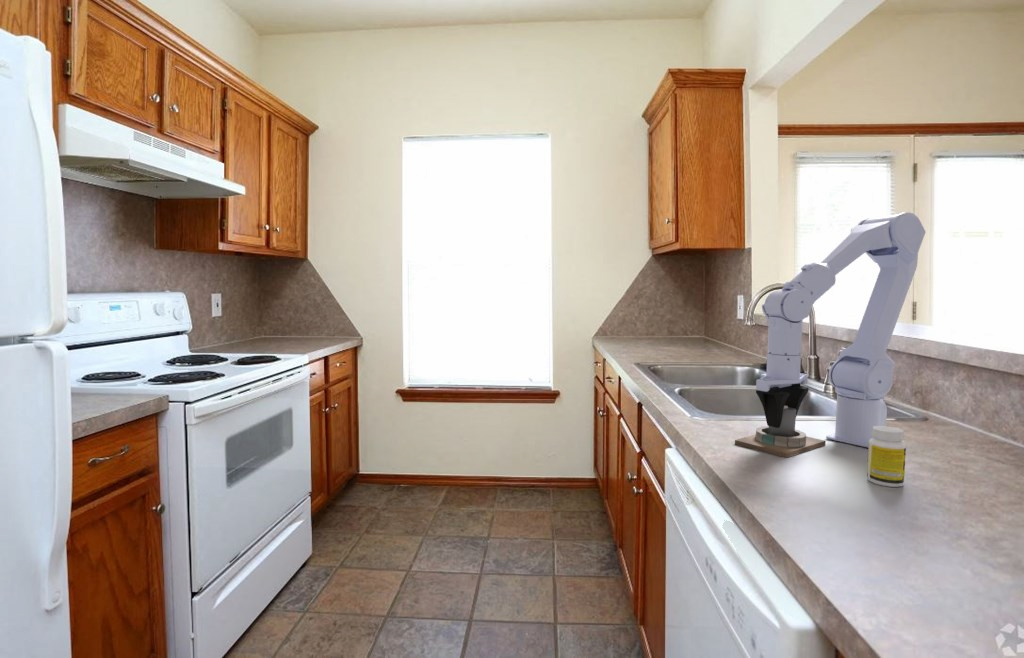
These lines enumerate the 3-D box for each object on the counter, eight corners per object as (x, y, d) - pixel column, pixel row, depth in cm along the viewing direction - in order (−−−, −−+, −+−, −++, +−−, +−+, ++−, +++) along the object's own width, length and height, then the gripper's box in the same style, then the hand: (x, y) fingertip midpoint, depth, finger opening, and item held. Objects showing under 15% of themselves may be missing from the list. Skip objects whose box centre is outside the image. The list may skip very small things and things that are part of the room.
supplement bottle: (910, 489, 81) (913, 433, 80) (875, 486, 82) (878, 431, 81) (894, 477, 85) (897, 425, 85) (861, 475, 86) (864, 424, 86)
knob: (777, 429, 106) (779, 402, 106) (799, 435, 102) (801, 407, 102) (763, 432, 104) (764, 404, 103) (785, 438, 100) (786, 409, 99)
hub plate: (774, 433, 111) (775, 421, 111) (825, 444, 103) (826, 432, 103) (734, 444, 103) (735, 431, 103) (786, 457, 95) (786, 444, 95)
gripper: (783, 349, 109) (780, 415, 110) (742, 354, 101) (739, 425, 102) (819, 353, 103) (816, 422, 104) (778, 358, 95) (775, 433, 96)
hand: (780, 424), depth 103 cm, fingers closed on knob, 4 cm apart
